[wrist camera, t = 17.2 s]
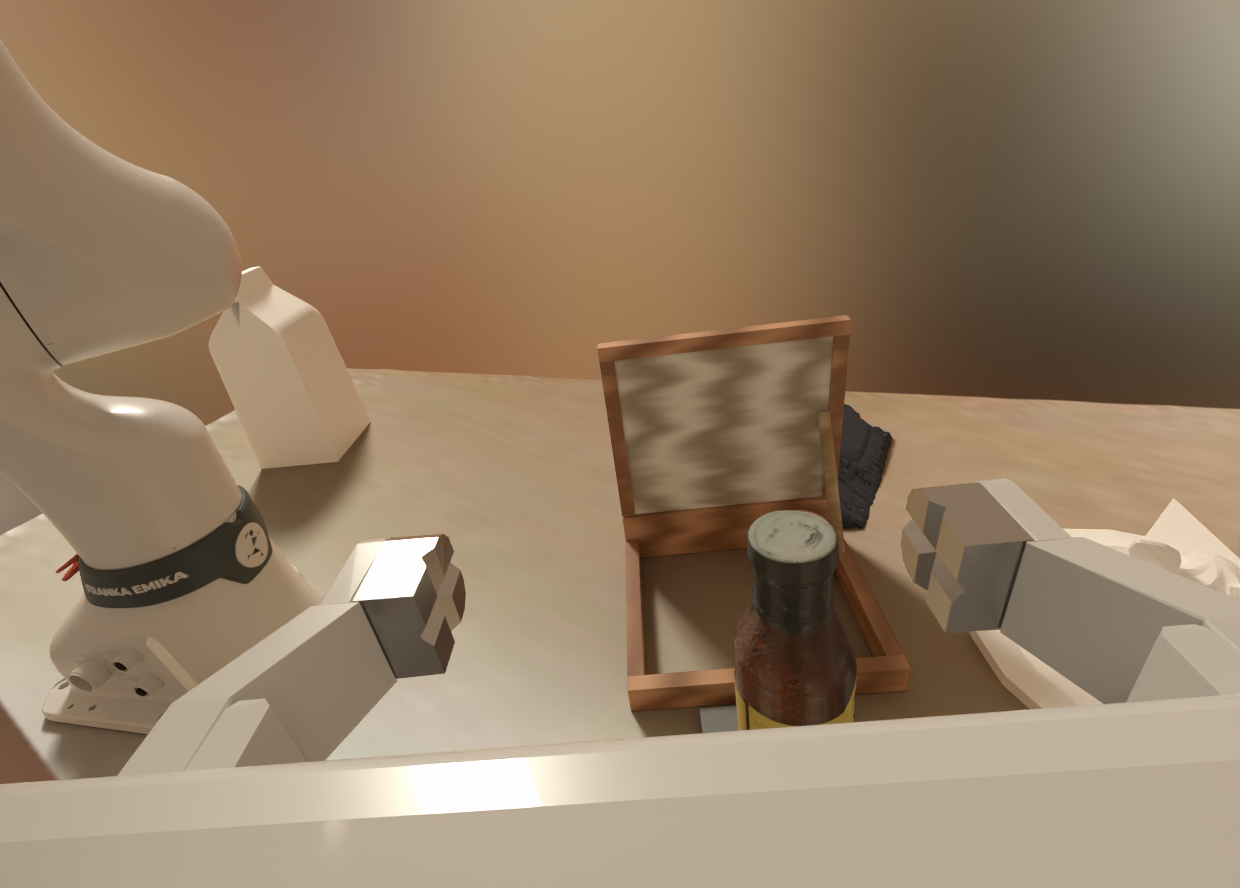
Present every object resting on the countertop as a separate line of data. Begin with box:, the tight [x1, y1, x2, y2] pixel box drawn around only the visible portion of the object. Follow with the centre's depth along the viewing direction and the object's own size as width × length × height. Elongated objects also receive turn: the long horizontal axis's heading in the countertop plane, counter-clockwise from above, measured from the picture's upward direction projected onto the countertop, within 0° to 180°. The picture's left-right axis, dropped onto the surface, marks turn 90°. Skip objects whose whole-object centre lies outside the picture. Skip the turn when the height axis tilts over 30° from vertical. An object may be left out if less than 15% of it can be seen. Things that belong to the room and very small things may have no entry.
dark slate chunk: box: [838, 404, 892, 528], centre depth 67 cm, size 15×22×5 cm
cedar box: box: [598, 315, 911, 711], centre depth 45 cm, size 20×18×22 cm
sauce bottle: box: [734, 510, 857, 731], centre depth 31 cm, size 7×6×20 cm
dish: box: [970, 498, 1240, 709], centre depth 40 cm, size 25×25×11 cm
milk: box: [209, 267, 371, 469], centre depth 82 cm, size 12×12×26 cm
